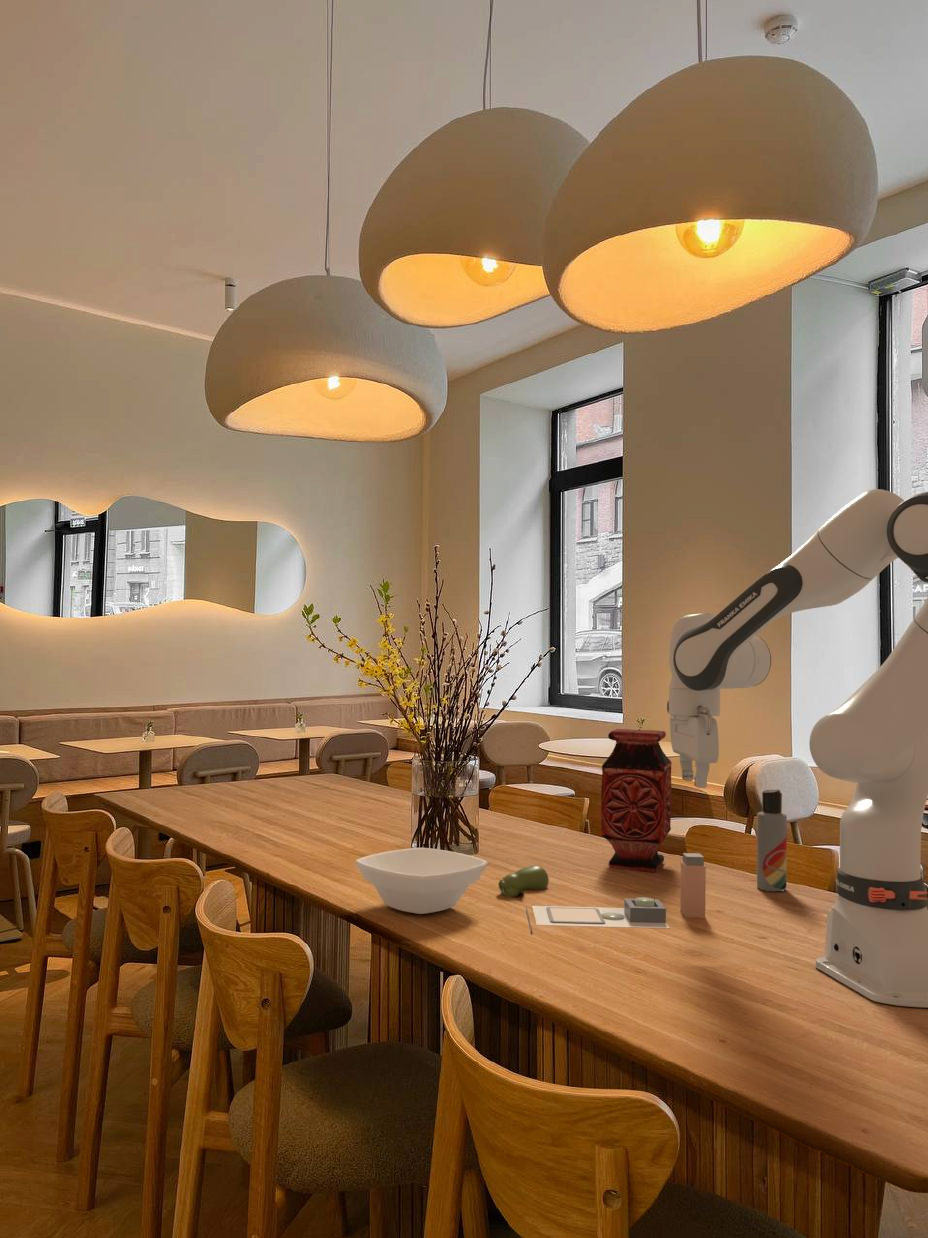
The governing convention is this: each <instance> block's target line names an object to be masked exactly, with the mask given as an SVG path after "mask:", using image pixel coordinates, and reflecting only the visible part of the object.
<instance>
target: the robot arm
mask: <svg viewBox="0 0 928 1238" xmlns="http://www.w3.org/2000/svg"><path fill="white" fill-rule="evenodd" d="M898 559H900V560H901V561H902V562H903V563H904V564H905V565H906V566H907V567H909V569H910V570H911V571H912V572H913V573H914V574H915V575H916V576H917V578H919V580H920V581H921V582H924V583H928V491H925V492H921V493H918V494H915V495H913V496H910V497H908V498H907V499H905V500H904V499H903V498H902V497H901V496H900V495H897V494H896V493H894V492H891V491H889V490H887V489H886V490H885V489H881V488H880V489H879V488H877V489H876V488H875V489H874V488H873V489H870V490H866V491H864V492H863V493H861V494H860V495H858V496H857V497H855V498H854V499H853V500H851V501H849V503H847V504H846V505H845V506H843V507H842V508H841V509H839V510H837V512H836V513H834V514H833V515H832V516H831V517H830V518H829V519H828V520H827V521H825V523H824V524H823V525H822V526H821V527H819V528H818V530H816V531H815V533H813V535H811V536H810V537H809V538H808V539H807V540H806V541H805V542H804V543H803V544H802V545H800V547H798V548H797V549H796V550H795V551H794V552H793V553H792V554H791V555H789V556H788V557H787V558H785V559H784V560H783V561H782V562H780V563H779V564H778V565H776V566H775V567H773V568H772V569H771V570H769V571H768V572H767V573H765V574H764V575H763V576H761V577H760V578H758V579H757V580H756V581H755V582H754V583H752V584H751V585H750V586H748V588H746V589H745V590H744V591H743V592H742V593H740V595H738V596H737V597H736V598H735V599H734V600H733V601H732V602H729V604H728V605H727V606H725V607H724V608H723V609H722V610H721V611H719V612H718V614H716V615H715V614H713V613H707V612H703V613H702V612H701V613H693V614H687V615H683V616H682V617H678V619H676V620H674V623H673V626H672V628H671V631H670V640H669V652H668V653H669V661H668V662H669V668H670V673H671V678H670V681H669V686H668V700H667V702H666V712H667V714H669V730H670V744H671V748H672V751H673V753H675V754H678V755H679V762H680V767H681V768H680V769H681V779H682V781H685V782H692V781H694V786H695V787H697V788H698V789H705V788H707V786H708V776H709V772H710V764H716V763H718V761H719V757H720V747H719V744H720V742H719V726H718V721H717V719H716V718H714V717H720V716H721V689H722V690H723V689H728V690H729V689H730V690H731V689H732V690H733V689H747V688H753V687H756V686H758V685H761V683H763V682H764V681H765V680H766V678H767V676H768V675H769V672H770V669H771V666H772V654H771V651H770V648H769V646H768V643H766V642H765V641H764V639H763V638H761V636H759V635H758V634H759V633H760V632H761V631H763V630H764V629H765V628H766V627H767V626H768V625H770V624H771V623H773V622H774V621H776V620H778V619H779V618H781V617H784V616H787V615H789V614H793V613H795V612H800V611H801V612H802V611H805V610H806V611H807V610H813V609H819V608H825V607H832V606H836V605H839V604H841V603H843V602H844V601H846V600H848V599H849V598H851V597H853V596H854V595H856V594H857V593H859V592H860V591H861V590H862V589H864V588H865V587H866V586H868V584H869V583H871V581H872V580H874V579H875V578H876V576H878V575H879V574H880V573H882V571H883V570H884V569H886V567H888V566H889V565H890V564H891V563H892V562H894V561H895V560H898ZM811 729H812V730H811V732H810V736H809V752H810V754H811V757H812V760H813V762H814V763H815V765H816V766H817V768H818V769H819V770H820V771H821V772H823V773H824V774H826V776H829V777H832V778H834V779H838V780H841V781H845V782H849V783H853V784H854V783H855V784H856V787H855V790H854V793H853V796H852V799H851V801H850V802H849V804H848V806H847V807H846V809H845V810H844V811H843V812H842V814H841V816H840V820H839V868H837V870H836V877H835V884H836V890H835V891H836V894H837V895H838V897H837V898H836V901H835V903H834V904H833V906H831V908H829V910H828V911H827V915H826V916H827V917H826V927H825V941H824V955H823V956H821V957H817V958H816V960H815V967H816V969H818V970H819V971H822V973H825V974H826V975H828V976H830V977H832V978H833V979H835V980H837V981H838V982H839V983H842V984H843V985H845V986H847V987H848V988H851V989H853V990H854V991H856V993H857V992H858V993H859V994H860V995H863V996H864V997H865V998H867V999H869V1000H871V1001H873V1002H877V1003H882V1004H887V1005H894V1006H898V1007H899V1006H900V1007H901V1006H902V1007H912V1008H928V896H927V895H928V891H927V887H926V886H925V880H924V878H923V877H922V876H921V866H922V865H921V863H922V862H921V858H922V856H921V852H922V827H923V825H922V824H923V819H924V812H925V809H926V805H927V804H926V803H927V799H928V597H927V598H926V600H925V601H924V602H923V604H922V606H921V608H920V609H919V610H918V612H917V613H916V615H915V617H913V620H912V621H911V623H910V624H909V626H908V627H907V629H906V630H905V632H903V635H902V636H901V638H900V639H899V640H898V642H897V644H896V645H895V646H894V648H893V650H892V651H891V653H890V654H889V656H887V658H886V659H885V661H884V662H883V663H882V664H881V665H880V667H879V668H878V669H877V670H876V671H875V672H873V674H872V675H871V676H870V677H869V678H868V679H867V680H866V681H865V682H864V683H863V684H861V686H860V687H858V689H857V690H856V691H855V692H854V693H852V695H850V697H849V698H848V699H847V700H845V701H844V702H843V703H842V704H841V705H839V706H838V707H837V708H836V709H834V710H833V711H831V712H830V713H828V714H826V715H824V716H822V717H821V718H820V719H818V721H817V722H816V723H815V724H814V726H813V728H811ZM693 761H694V764H695V765H694V766H695V767H694V768H695V776H694V771H693V769H694V768H693Z"/></svg>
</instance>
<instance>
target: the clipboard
mask: <svg viewBox="0 0 928 1238" xmlns="http://www.w3.org/2000/svg"><path fill="white" fill-rule="evenodd" d="M531 907H532V911H533V915H534V919H535V920H534V921H535V924H536V926H552V927H556V926H557V927H559V926H560V927H589V928H590V927H593V928H595V927H596V928H600V927H601V928H633V929H635V928H640V929H670V926H668V924H667V922H666V923H644V922H630V921H629V919H628V918H627V916H626V915H625V913H624V907H602V906H601V907H599V906H596V907H595V906H563V905H562V906H559V905H558V906H557V905H531ZM525 912H526V916H527V922H528V926H529V930H530V934H531V935H533V934H534V933H533V929H532V925H531V921H530V915H529V910H528V907H527V905H525Z"/></svg>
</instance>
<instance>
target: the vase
mask: <svg viewBox="0 0 928 1238" xmlns="http://www.w3.org/2000/svg"><path fill="white" fill-rule="evenodd" d="M666 735H667V733H666V731H664V730H654V729H653V730H651V729H650V730H649V729H631V728H630V729H628V728H627V729H626V728H616V729H614V730H612V731H610V732H609V733H608V736H607V737H608V739H609V740H611V741H615V745H614V748H613V750H612V752H611V753H610V755H609V756H608V757H607V758H606V760H605V761H604V762H603V764H602V765H601V771H602V774H601V777H602V779H601V788H600V789H601V795H600V796H601V808H600V809H601V823H600V827H601V837H603V838H604V839H606V841H608V843H609V844H610V845H611V846H612V849H613V850H614V854H613V856H612V857H611V858H610V860H609V861H608V866H609V868H611V869H617V870H626V869H628V870H629V871H637V870H638V871H639V872H647V871H649V873H656V872H658V870H659V869H660V867H661V865H663V863H664V861H665V856H664V855H663V854H659V852H658V851H659V849H660V847H661V844H662V843H663V842H664V840H665V839H666V837H667V836H668V834H669V833H670V831H671V830H672V827H671V820H672V819H671V816H672V815H671V812H672V811H671V810H672V761H671V760H670V759H669V757H667V755H666V754H665V752H664V750H663V749H662V748H661V747H662V746H661V745H660V743H659V742H660V741H661V740H663V739H665V738H666Z"/></svg>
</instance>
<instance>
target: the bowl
mask: <svg viewBox="0 0 928 1238" xmlns="http://www.w3.org/2000/svg"><path fill="white" fill-rule="evenodd" d="M354 863H355V866H356V867H357V869H358V870H359V872H360V873H361V875H362V877H363V879H364V880H365V881H366V882H368V883H369V884H372V885H373V886H374V888H375V889H376V891H377V893H378V895H379V896H380V898H381V899H382V901H383V903H384V904H385V905H386V906H387V907H390V908H393V909H395V910H398V911H401V912H405V913H413V914H419V915H423V914H431V913H436V912H441V911H445V910H448V909H450V908H453V907H455V906H456V905H457V904H458V902H459V901H460V900H461V898H462V896H463V895H464V893H466V891H467V889H468V888H469V886H470V885H473V884H474V883H476V882H478V881H479V879H480V877H481V875H482V874H483V873H484V871H485V869H486V868H487V867H488V865H489V864H488V861H487V860H485V859H482V858H480V857H477V856H472V855H469V854H465V853H460V852H455V851H452V850H451V851H450V850H443V849H439V848H431V847H430V848H428V847H413V848H412V847H410V848H404V849H402V848H401V849H395V850H388V851H383V852H379V853H374V854H373V853H372V854H369V855H366V856H363V857H360V858H358V859H356V860H355V861H354Z"/></svg>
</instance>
